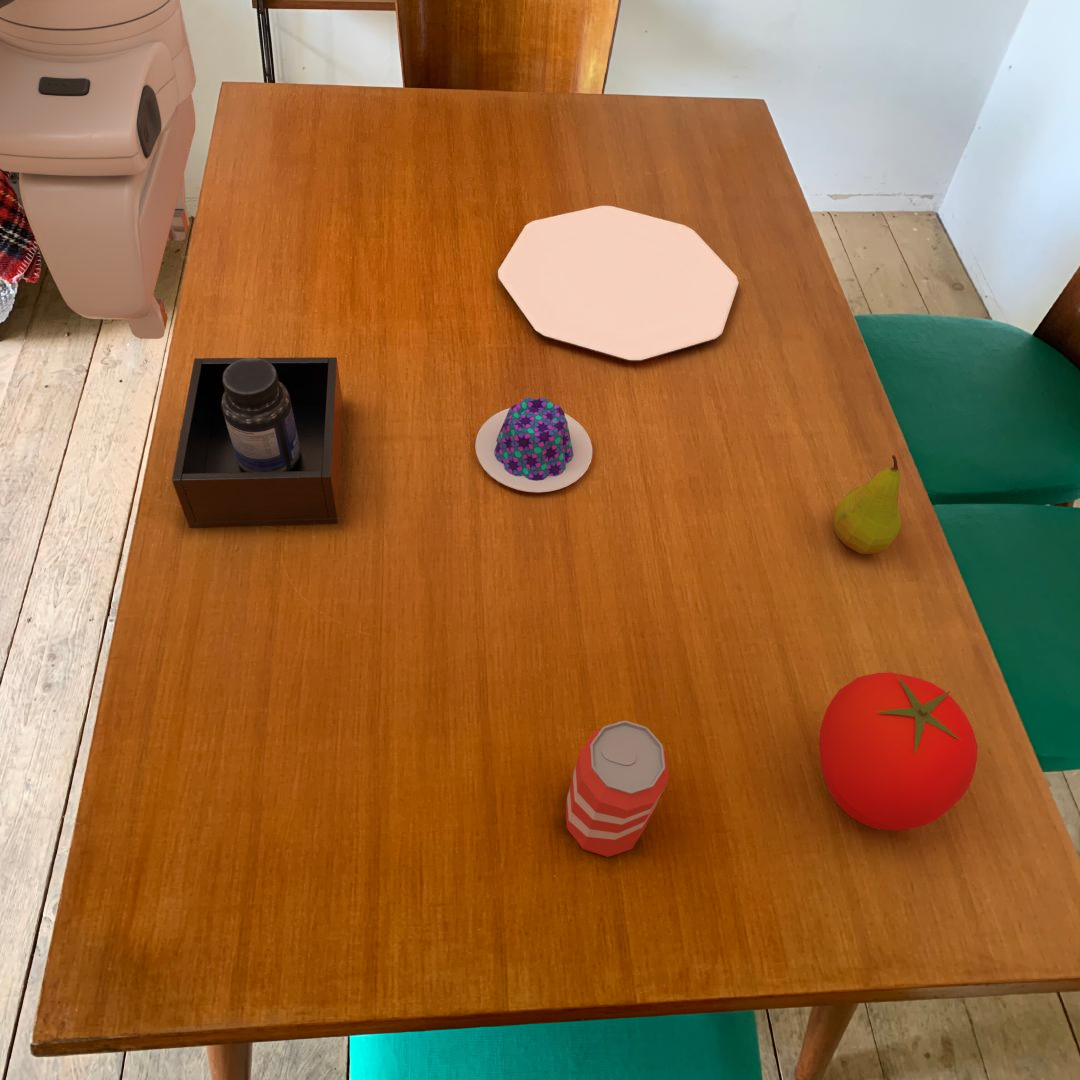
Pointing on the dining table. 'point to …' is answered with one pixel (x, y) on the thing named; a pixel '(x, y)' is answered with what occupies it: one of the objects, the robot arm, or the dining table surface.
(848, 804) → the tomato
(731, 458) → the dining table surface
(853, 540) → the fruit
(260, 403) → the pill bottle
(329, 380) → the open box
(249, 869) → the dining table surface
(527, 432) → the pudding
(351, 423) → the dining table surface
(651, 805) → the beverage can
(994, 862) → the dining table surface
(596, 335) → the plate
